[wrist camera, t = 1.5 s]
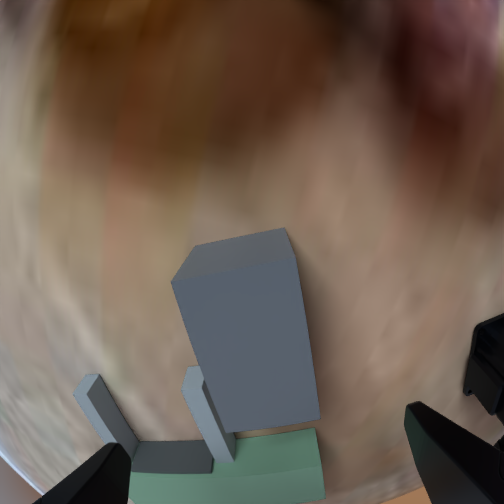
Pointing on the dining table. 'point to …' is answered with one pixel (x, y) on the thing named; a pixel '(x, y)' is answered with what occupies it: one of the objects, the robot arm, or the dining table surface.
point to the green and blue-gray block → (208, 455)
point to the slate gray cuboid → (249, 330)
